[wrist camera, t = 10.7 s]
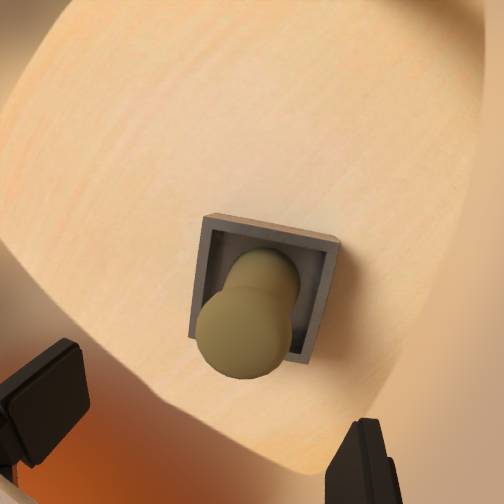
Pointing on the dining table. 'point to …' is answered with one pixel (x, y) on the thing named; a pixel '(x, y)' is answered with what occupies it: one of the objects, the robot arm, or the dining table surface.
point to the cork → (250, 315)
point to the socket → (275, 237)
